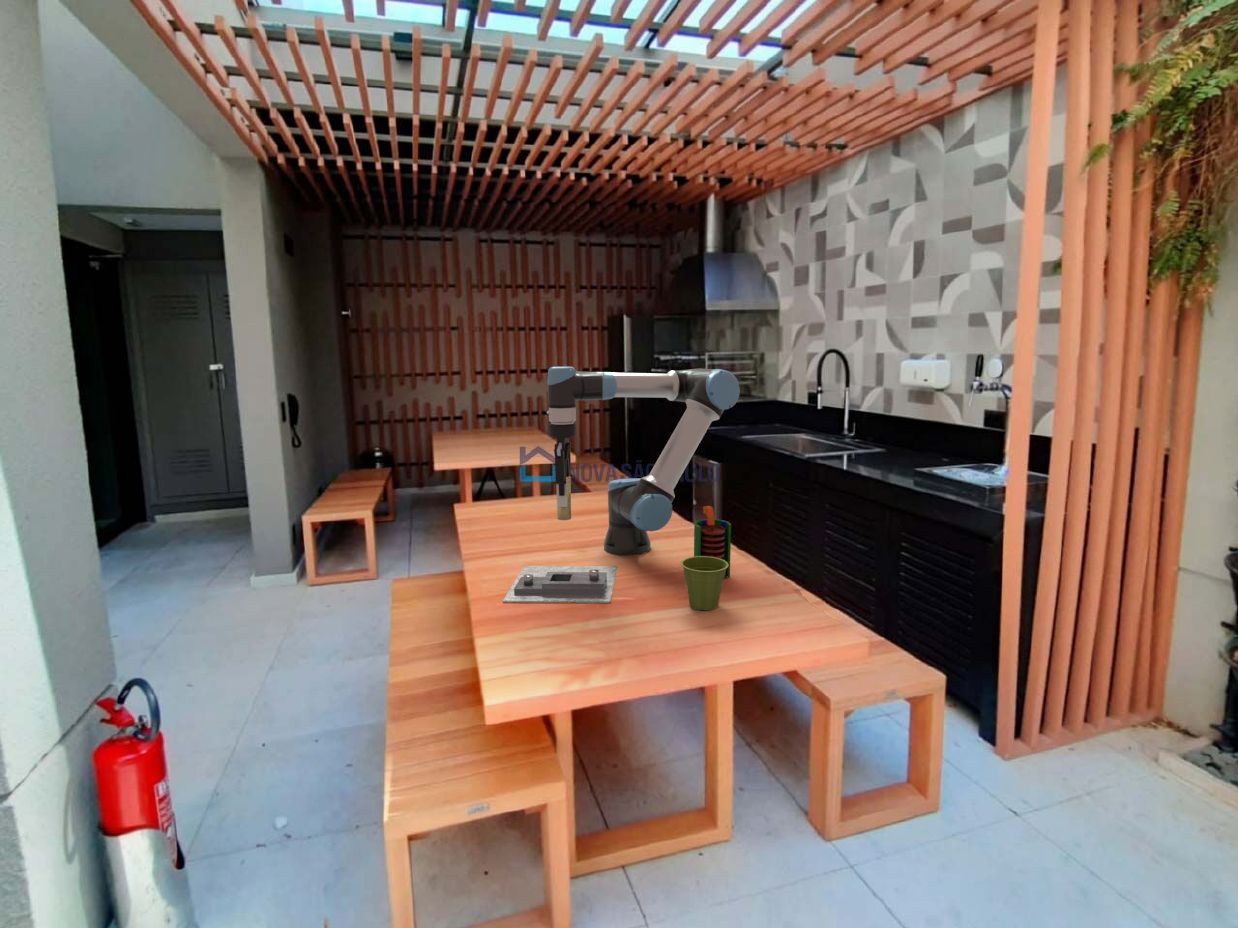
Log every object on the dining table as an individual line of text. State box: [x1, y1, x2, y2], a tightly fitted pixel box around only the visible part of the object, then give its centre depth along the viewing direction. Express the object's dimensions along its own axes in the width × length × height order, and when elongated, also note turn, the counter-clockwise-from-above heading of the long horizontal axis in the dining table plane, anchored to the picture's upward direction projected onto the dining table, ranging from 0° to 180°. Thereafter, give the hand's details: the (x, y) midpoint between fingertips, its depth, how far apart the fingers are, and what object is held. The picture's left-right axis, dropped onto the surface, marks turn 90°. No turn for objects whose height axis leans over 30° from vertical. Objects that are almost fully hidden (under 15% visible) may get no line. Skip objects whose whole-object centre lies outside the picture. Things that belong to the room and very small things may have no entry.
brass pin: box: [555, 476, 572, 521], centre depth 187 cm, size 4×4×12 cm
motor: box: [693, 505, 732, 581], centre depth 186 cm, size 10×9×20 cm
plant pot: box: [680, 556, 729, 611], centre depth 166 cm, size 12×12×11 cm
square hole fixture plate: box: [502, 565, 618, 604], centre depth 183 cm, size 28×27×6 cm
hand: (564, 504), depth 188 cm, fingers closed on brass pin, 4 cm apart
